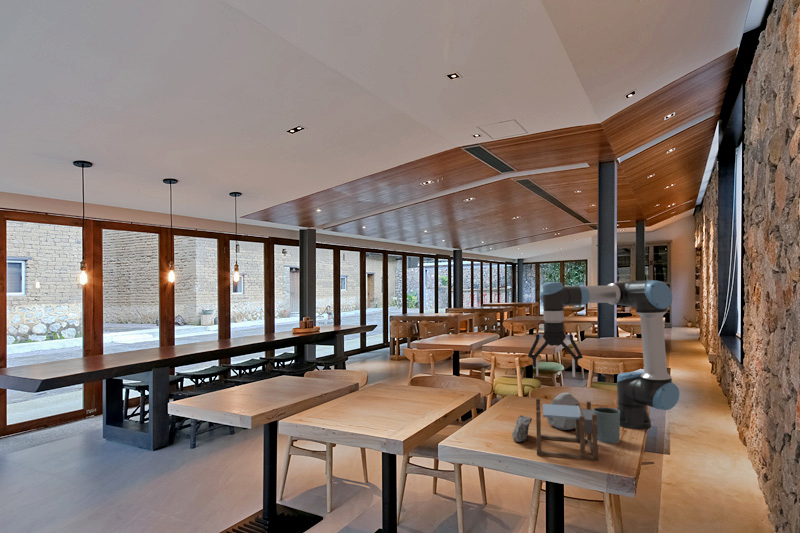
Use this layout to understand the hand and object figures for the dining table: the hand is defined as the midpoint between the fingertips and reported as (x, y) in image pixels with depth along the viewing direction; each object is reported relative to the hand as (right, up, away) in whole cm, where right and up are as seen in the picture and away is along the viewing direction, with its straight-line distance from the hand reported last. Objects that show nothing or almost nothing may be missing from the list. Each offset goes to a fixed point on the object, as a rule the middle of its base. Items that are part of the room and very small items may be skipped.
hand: (555, 376), depth 186 cm
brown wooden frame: (+3, -27, -2) cm, 28 cm away
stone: (+13, -29, +24) cm, 39 cm away
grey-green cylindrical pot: (+23, -28, +8) cm, 37 cm away
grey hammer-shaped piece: (+4, -19, -2) cm, 19 cm away
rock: (-11, -28, +10) cm, 32 cm away
